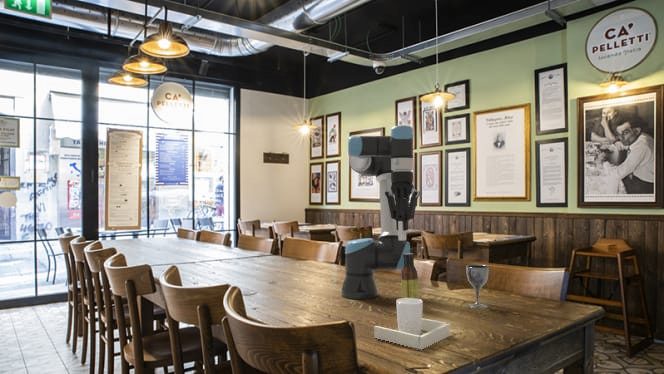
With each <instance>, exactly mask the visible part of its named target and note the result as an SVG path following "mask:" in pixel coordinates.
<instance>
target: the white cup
mask: <svg viewBox="0 0 664 374" xmlns="http://www.w3.org/2000/svg"><path fill="white" fill-rule="evenodd" d="M423 305H424V302H423V300H422V299H420V298H419V299H416V298H402V297H401V298H397V299H396V322H397V331H401V332H406V333H410V334H415V335H419V336H421V335H422V330H421V326H422V318H423V311H424V310H423V308H424V306H423Z"/></svg>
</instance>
